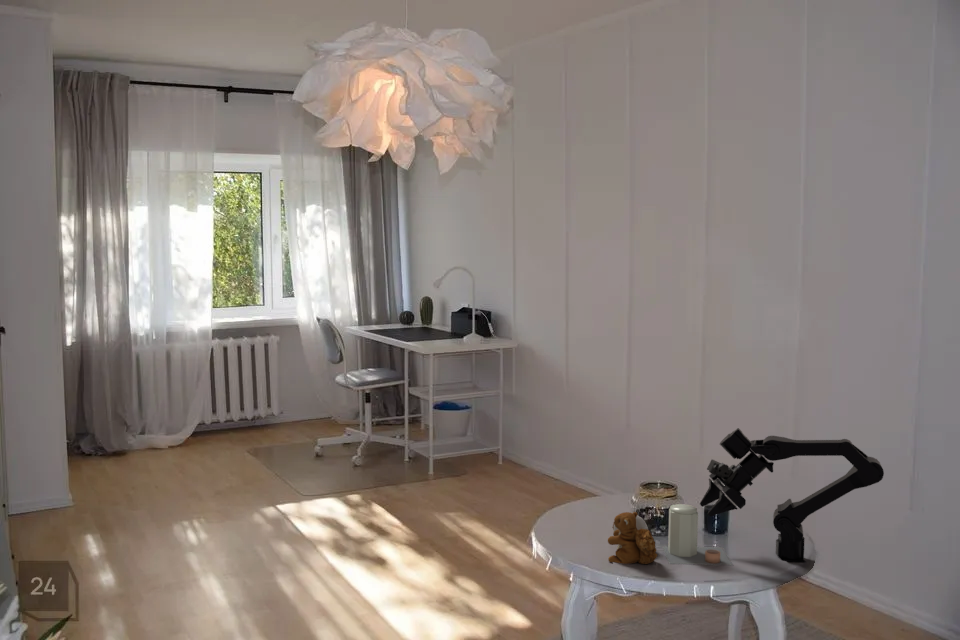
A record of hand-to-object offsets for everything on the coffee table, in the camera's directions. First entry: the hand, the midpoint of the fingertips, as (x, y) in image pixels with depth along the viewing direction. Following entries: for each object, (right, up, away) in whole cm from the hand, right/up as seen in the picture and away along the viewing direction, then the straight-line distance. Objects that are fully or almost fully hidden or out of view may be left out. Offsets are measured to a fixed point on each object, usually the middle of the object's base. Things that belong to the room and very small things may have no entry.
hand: (704, 510), depth 249 cm
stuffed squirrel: (-20, -13, -5) cm, 25 cm away
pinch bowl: (+1, -13, -6) cm, 14 cm away
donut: (-20, -12, +5) cm, 24 cm away
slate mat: (-3, -13, -2) cm, 13 cm away
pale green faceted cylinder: (-6, -12, +1) cm, 13 cm away
